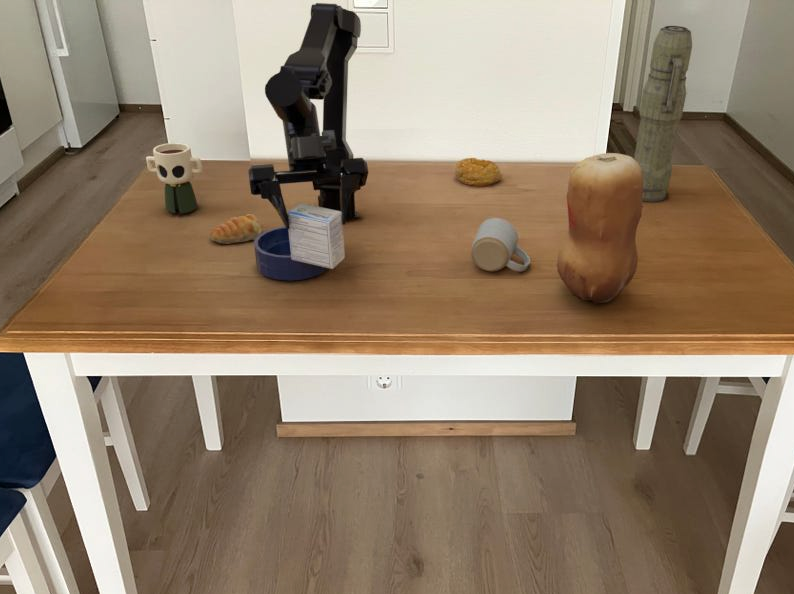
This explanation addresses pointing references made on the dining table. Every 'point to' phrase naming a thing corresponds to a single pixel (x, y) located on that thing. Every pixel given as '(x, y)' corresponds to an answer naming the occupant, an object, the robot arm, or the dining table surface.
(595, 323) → the dining table surface
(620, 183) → the butternut squash
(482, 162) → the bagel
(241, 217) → the pastry
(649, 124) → the thermos
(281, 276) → the basin
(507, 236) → the ceramic mug
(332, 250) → the medicine box
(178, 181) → the character mug
